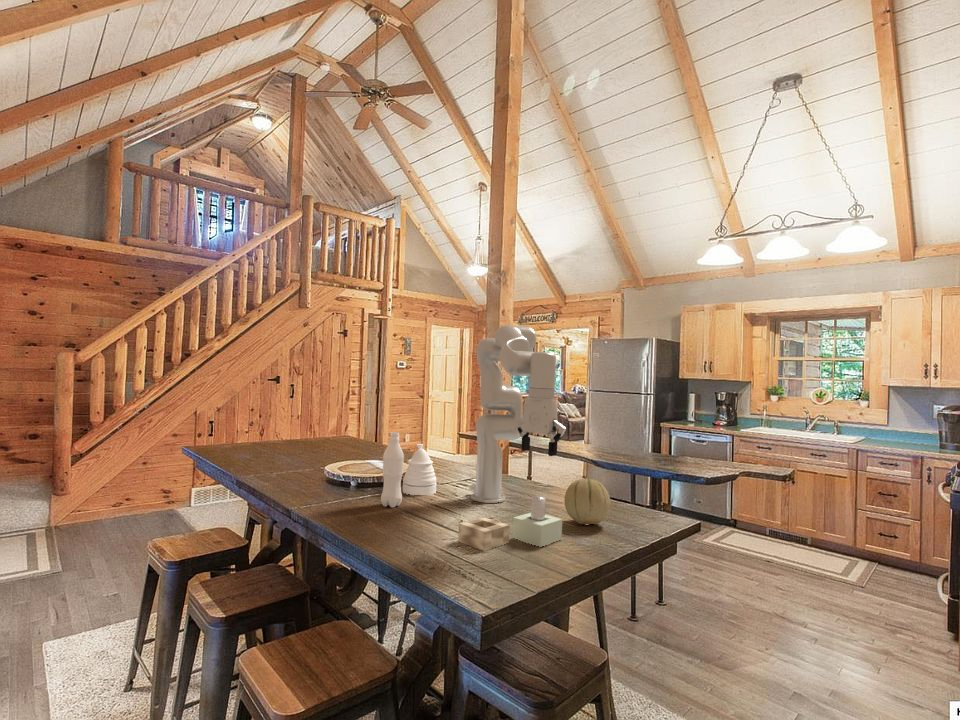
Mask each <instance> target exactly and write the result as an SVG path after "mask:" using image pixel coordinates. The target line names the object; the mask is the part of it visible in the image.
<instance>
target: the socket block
mask: <svg viewBox="0 0 960 720" xmlns="http://www.w3.org/2000/svg"><path fill="white" fill-rule="evenodd" d="M510 529H511V528H510V524H507V523H503V522H501V521H498V520H494V519H492V518H488V517H485V516H481V517H479V518H474V519H470V520H467V521H466V520H465V521H462V522H459V523H458V534H457V536H458V537H457V542H459V543H462V544H464V545H467V546H469V547H473V548H475V549H477V548H478V550H481V551H483V552H486V551H489V550H493V549H496V548H499V547H502V546H504V544H505V545H507V544H506V543H508V544H510ZM501 545H502V546H501ZM498 546H499V547H498ZM495 547H496V548H495ZM492 548H493V549H492Z"/></svg>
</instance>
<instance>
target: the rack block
mask: <svg viewBox="0 0 960 720" xmlns="http://www.w3.org/2000/svg"><path fill="white" fill-rule="evenodd" d="M512 521H513V522H512V539H513V538H515V539H514V540H516V539H518V540H517V541H519V540H521V541H520V542H522V541H524V542H523V543H525V542H526V543H525V544H528V543H529V544H528V545H531V544H532V546H534V545H536V546H535V547H537V546H539V547H538V548H540V547H542V546H544V547H546V546H545V545H547V544H549V543H552V542H555V541H557V540H559V539H562V537H563V518H559V517H555V516H553V515H549V514H545V520H544V521H541V522H538V521H535V520H531V512H528V513H525V514H521V515H517V516H514V517H512ZM562 540H563V539H562ZM555 543H556V542H555ZM547 546H548V545H547ZM542 548H543V547H542Z"/></svg>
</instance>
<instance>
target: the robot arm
mask: <svg viewBox="0 0 960 720" xmlns="http://www.w3.org/2000/svg"><path fill="white" fill-rule="evenodd" d="M536 343H537V335H536V331H535V330H534V329H533V328H531V327H530V326H525V325H523V326H522V325H510V324H508V325H507V324H506V325H502V326H500V327H498V328H497V329H496V331H495V332H494V337H486V338H483V339H480V341H479V342H478V343H477V346H476V360H477V364H478V367H479V373H480V393H479V394H480V395H479V396H480V397H479V398H480V399H479V400H480V406H481V408H482V409H484V410H487V411H496V412H497V411H500V412H503V411H505V412H507V414H500V413H486V414H482V415H480V416H479V417H478V418H477V419H476V422H475V428H476V429H475V430H476V441H477V443H476V444H477V445H476V446H477V449H476V470H475V471H476V473H475V474H476V476H475V483H472V484H471V486H469V487H468V489H469V490H470V491H472V492H473V493H472V494H470V499H471V500H472V501H475V502H479V503H485V504H497V503H498V502H499V503H502V502H504V501H505V500H506V497H505V495H503V494H502V477H503V476H502V475H503V474H502V473H503V450H502V448H501V446H500V444H499V443H498V441H514V440H515V441H516V440H519V439H520V438H521V451H522V452H525V451H530V450H531V436H530V435H531V434H536V435H543V436H545V435H547V437H548V439H549V442H548V450H547V451H548V453H547V454H548V457H555V456H557V453H558V442H560V440H561V439H562V438H563V437H564V434H565V432H566V431H567V428H566V426H564V425H563V424H562V423H560V422H559V421H558V420H559V419H558V406H557V400H556V399H555V392H556V370H557V355H555V353H553V352H547V351H533V349H534V348H535V346H536ZM497 362H500V365H501V367H502V368H501V367H500V365H499V364H498V363H497ZM502 369H503V370H504V371H505V372H506V373H507V374H509V375H512V376H516V377H517V376H520V377H521V376H522V377H523V376H524V377H528V379H529V380H528V381H529V382H528V389H526V391H525V392H526V394H528V397H526V398H525V401H524V404H523V396H522V395H523V394H522V391H521V389H519V387H517V386H515V385H504V374H503V371H502ZM557 431H558V433H557Z"/></svg>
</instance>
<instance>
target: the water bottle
mask: <svg viewBox="0 0 960 720" xmlns="http://www.w3.org/2000/svg"><path fill="white" fill-rule="evenodd" d="M389 436H390V437H389V443H388V445H387V447H386V448H385V450H384V452H383V456H382V472H381V473H382V477H383V488H382V493H381V495H380V500H381V504H382V506H383V507H388V506H389V507H390V508H396V507H399V506H401V503H402V500H403V494H402V489H401V488H402V487H401V485H402V482H401V481H402V479H403V478H402V477H403V475H404V463H405V462H404V461H405V453H404V451H403V449H402V447H401V445H400V432H396V431H391V432H390V435H389Z"/></svg>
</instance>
